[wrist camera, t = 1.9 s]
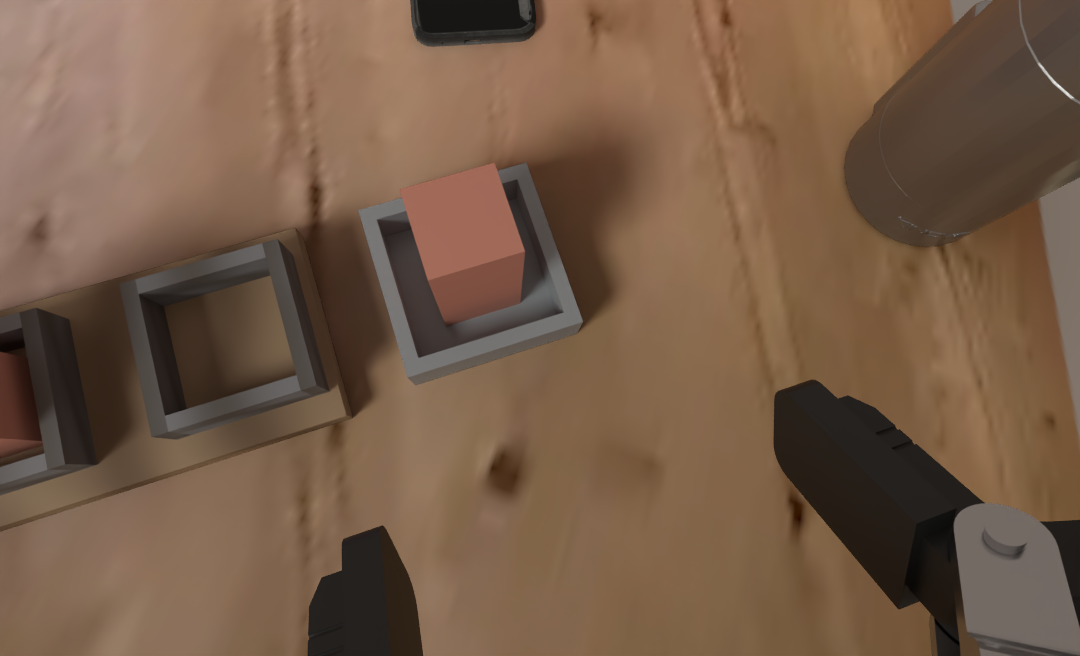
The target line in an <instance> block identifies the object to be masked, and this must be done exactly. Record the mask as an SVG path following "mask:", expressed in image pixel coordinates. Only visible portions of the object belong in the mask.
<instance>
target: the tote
mask: <svg viewBox="0 0 1080 656" xmlns="http://www.w3.org/2000/svg"><path fill="white" fill-rule="evenodd" d="M497 172H498V174H499V177H500V180H501V183H502V186H503V189H504V192H505V195H506V198H507V200H508V203H509V206H510V209H511V212H512V215H513V218H514V221H515V224H516V227H517V229H518V232H519V235H520V238H521V241H522V244H523V247H524V250H525V257H524V268H523V279H522V289H521V300H520V304H517V305H514V306H511V307H507V308H504V309H501V310H498V311H494V312H491V313H488V314H485V315H482V316H478V317H475V318H472V319H469V320H465V321H462V322H459V323H456V324H453V325H449V326H446V325H445V322H444V320H443V317H442V315H441V312H440V310H439V307H438V305H437V302H436V300H435V297H434V295H433V292H432V290H431V287H430V285H429V282H428V279H427V276H426V273H425V270H424V266H423V263H422V260H421V257H420V254H419V250H418V247H417V244H416V241H415V238H414V234H413V231H412V228H411V225H410V221H409V218H408V215H407V212H406V209H405V205H404V202H403V199H402V198H400V199H396V200H393V201H389V202H386V203H382V204H379V205H375V206H371V207H368V208H364V209H361V210H358V211H359V215H360V218H361V221H362V225H363V228H364V232H365V235H366V238H367V242H368V245H369V249H370V252H371V255H372V259H373V262H374V265H375V269H376V272H377V276H378V279H379V282H380V286H381V289H382V293H383V296H384V299H385V303H386V306H387V309H388V313H389V316H390V320H391V323H392V326H393V330H394V333H395V337H396V340H397V343H398V347H399V350H400V353H401V357H402V360H403V364H404V367H405V370H406V374H407V377H408V378H409V379H410V380H411V381H412V382H413V383H414V384H415V385H418V384H421V383H424V382H427V381H430V380H433V379H436V378H440V377H443V376H446V375H449V374H452V373H455V372H458V371H461V370H465V369H468V368H471V367H474V366H477V365H480V364H483V363H486V362H490V361H493V360H496V359H499V358H502V357H505V356H508V355H512V354H515V353H518V352H521V351H524V350H527V349H530V348H533V347H537V346H540V345H543V344H546V343H549V342H552V341H555V340H559V339H562V338H565V337H568V336H571V335H574V334H577V333H578V331H579V329H580V327H581V325H582V323H583V320H582V317H581V314H580V312H579V309H578V306H577V303H576V300H575V298H574V295H573V292H572V289H571V286H570V284H569V281H568V278H567V275H566V272H565V269H564V267H563V264H562V261H561V258H560V255H559V253H558V250H557V247H556V244H555V241H554V239H553V236H552V233H551V230H550V227H549V224H548V222H547V219H546V216H545V213H544V210H543V208H542V205H541V202H540V199H539V196H538V194H537V191H536V188H535V185H534V182H533V180H532V177H531V174H530V171H529V168H528V165H527V163H523V164H520V165H516V166H513V167H509V168H506V169H502V170H498V171H497Z"/></svg>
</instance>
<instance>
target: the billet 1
mask: <svg viewBox="0 0 1080 656" xmlns="http://www.w3.org/2000/svg"><path fill="white" fill-rule="evenodd" d="M40 446H43V442H42V436H41V431H40V425H39V420H38V414H37V408H36V403H35V397H34V392H33V386H32V380H31V375H30V369H29V364H28V358H24V357H20V356H16V355H12V354H8V353H3V352H0V459H2V458H5V457H8V456H11V455H14V454H18V453H21V452H24V451H27V450H31V449H34V448H37V447H40Z"/></svg>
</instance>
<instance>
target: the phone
mask: <svg viewBox="0 0 1080 656" xmlns="http://www.w3.org/2000/svg"><path fill="white" fill-rule="evenodd" d="M410 2H411V17H412V26H413V31H414V35H415V37H416V39H417V40H418V41H419V42H420V43H421V44H423V45H426V46H431V47H436V46H454V45H472V44H490V43H508V42H521V41H525V40H527V39H529V38H530V37H531V36H532V35H533V33H534V31H535V24H536V13H535V4H534V0H410ZM478 39H480V41H466V42H465V40H478ZM442 43H443V44H442Z"/></svg>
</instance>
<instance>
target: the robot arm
mask: <svg viewBox="0 0 1080 656" xmlns="http://www.w3.org/2000/svg"><path fill="white" fill-rule="evenodd" d="M844 169H845V179H846V184H847V187H848V190H849V193H850V196H851V198H852V200H853V202H854V203H855V205H856V207H857V209H858V210H859V211H860V213H861V214H862V215H863V216H864V217H865V218H866V220H867V221H868V222H869V223H870V224H872V225H873V226H874V227H875V228H877V229H878V230H879V231H880V232H882V233H883V234H885V235H887V236H889V237H891V238H893V239H894V240H897V241H900V242H903V243H906V244H909V245H915V246H924V247H930V246H941V245H944V244H947V243H951V242H954V241H956V240H958V239H960V238H962V237H964V236H966V235H968V234H970V233H972V232H974V231H976V230H978V229H980V228H982V227H983V226H985V225H987V224H989V223H991V222H993V221H995V220H997V219H999V218H1001V217H1003V216H1005V215H1007V214H1009V213H1011V212H1013V211H1015V210H1017V209H1019V208H1021V207H1023V206H1025V205H1027V204H1029V203H1031V202H1033V201H1035V200H1037V199H1038V198H1040V197H1042V196H1044V195H1046V194H1048V193H1050V192H1052V191H1054V190H1056V189H1058V188H1060V187H1062V186H1064V185H1066V184H1067V183H1070V182H1071V181H1073V180H1075V179H1077V178H1079V177H1080V0H992V1H981V2H979V3H977V4H976V5H974V6H973V7H972V8H971V9H970V10H969V11H968V12H967V13H966V14H965V15H964V16H963V17H962V18H961V19H960V20H959V21H958V22H957V23H956V24H955V25H954V26H953V27H952V28H951V29H950V30H949V31H948V32H947V33H946V34H945V35H944V36H943V37H942V38H941V39H940V40H939V41H938V42H937V43H936V44H935V45H934V46H933V47H932V48H931V49H930V50H929V51H928V52H927V53H926V54H925V55H924V56H923V57H922V58H921V59H920V60H919V61H918V62H917V63H916V64H915V65H914V66H913V67H912V68H911V69H910V70H909V71H908V72H907V73H906V74H905V75H904V76H903V77H902V78H900V79H899V80H898V81H897V82H896V83H895V84H894V85H893V86H892V87H891V88H890V89H889V90H888V91H887V92H886V93H885V94H884V95H883V96H882V97H881V98H880V99H879V100H878V101H877V102H876V103H875V105H874V110H873V115H872V117H871V118H870V119H869V120H868V121H867V122H866V123H865V124H864V125H863V126H862V127H861V128H860V129H859V130H858V131H857V133H856V134H855V136H854V137H853V139H852V140H851V142H850V144H849V147H848V150H847V153H846V158H845V167H844ZM774 451H775V455H776V458H777V460H778V463H779V465H780V467H781V469H782V470H783V472H784V473H785V475H786V476H787V477H788V478H789V479H790V481H791V482H792V483H793V484H794V485H795V487H796V488H797V489H798V490H799V491H800V493H801V494H802V495H803V496H804V497H805V499H806V500H807V501H808V502H809V503H810V505H811V506H812V507H813V508H814V509H815V510H816V512H817V513H818V514H819V515H820V516H821V518H822V519H823V520H824V521H825V522H826V524H827V525H828V526H829V527H830V528H831V530H832V531H833V532H834V533H835V534H836V536H837V537H838V538H839V539H840V540H841V541H842V543H843V544H844V545H845V546H846V547H847V549H848V550H849V551H850V552H851V553H852V555H853V556H854V557H855V558H856V559H857V561H858V562H859V563H860V564H861V565H862V566H863V568H864V569H865V570H866V571H867V572H868V574H869V575H870V576H871V577H872V578H873V580H874V581H875V582H876V583H877V584H878V586H879V587H880V588H881V589H882V590H883V592H884V593H885V594H886V595H887V596H888V597H889V599H890V600H891V601H892V602H893V603H894V605H895V606H896V607H897V608H898V609H901V608H904V607H906V606H909V605H911V604H914V603H916V602H919V601H920V602H921V603H922V604H923V605H924V606H925V608H926V609H927V610H928V611H929V612H930V613H931V614H930V618H929V628H930V640H931V652H932V656H1080V520H1072V521H1053V522H1039V521H1038V520H1036V519H1035V518H1033V517H1032V516H1030V515H1028V514H1026V513H1025V512H1022V511H1020V510H1018V509H1015V508H1012V507H1009V506H1005V505H1000V504H991V503H984V502H983V501H982V500H980V499H979V498H978V497H977V496H975V495H974V494H973V493H972V492H971V491H970V490H969V489H967V488H966V487H965V486H964V485H963V484H962V483H961V482H959V481H958V480H957V479H956V478H955V477H954V476H953V475H951V474H950V473H949V472H948V471H947V470H946V469H944V468H943V467H942V466H941V465H940V464H939V463H938V462H936V461H935V460H934V459H933V458H932V457H931V456H930V455H928V454H927V453H926V452H925V451H924V450H923V449H922V448H920V447H919V446H918V445H917V444H915V445H914V444H913V442H912V440H911V439H910V438H909V437H908V436H907V435H905V434H904V433H903V432H902V431H901V430H900V429H899V430H897V429H896V427H895V425H894V424H893V423H892V422H891V421H889V420H888V419H887V418H886V417H885V416H884V415H883V414H881V413H880V412H879V411H878V410H877V409H876V408H874V407H872V406H870V405H868V404H865V403H863V402H861V401H859V400H857V399H854V398H852V397H850V396H848V395H847V396H845V397H842V398H839V399H838V398H836V397H835V396H834V395H833V394H832V393H831V392H830V391H829V390H828V389H827V388H826V387H824V386H823V385H822V384H821V383H820V382H818V381H816V380H809V381H806V382H803V383H800V384H797V385H794V386H791V387H789V388H786V389H783V390H780V391H778V392H777V393H776V394H775V400H774ZM308 635H309V640H308V656H423V650H422V643H421V635H420V627H419V619H418V611H417V604H416V599H415V594H414V590H413V587H412V583H411V580H410V578H409V575H408V573H407V571H406V569H405V567H404V565H403V563H402V561H401V559H400V556H399V554H398V552H397V550H396V548H395V546H394V544H393V542H392V540H391V538H390V536H389V534H388V532H387V530H386V529H385V527H384V526H380V527H377V528H374V529H371V530H368V531H365V532H362V533H359V534H356V535H353V536H350V537H348V538H345V539H343V542H342V571H339V572H336V573H334V574H331V575H328V576H325V577H322V578H321V580H320V583H319V585H318V587H317V590H316V592H315V594H314V597H313V599H312V601H311V604H310V606H309V629H308Z"/></svg>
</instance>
